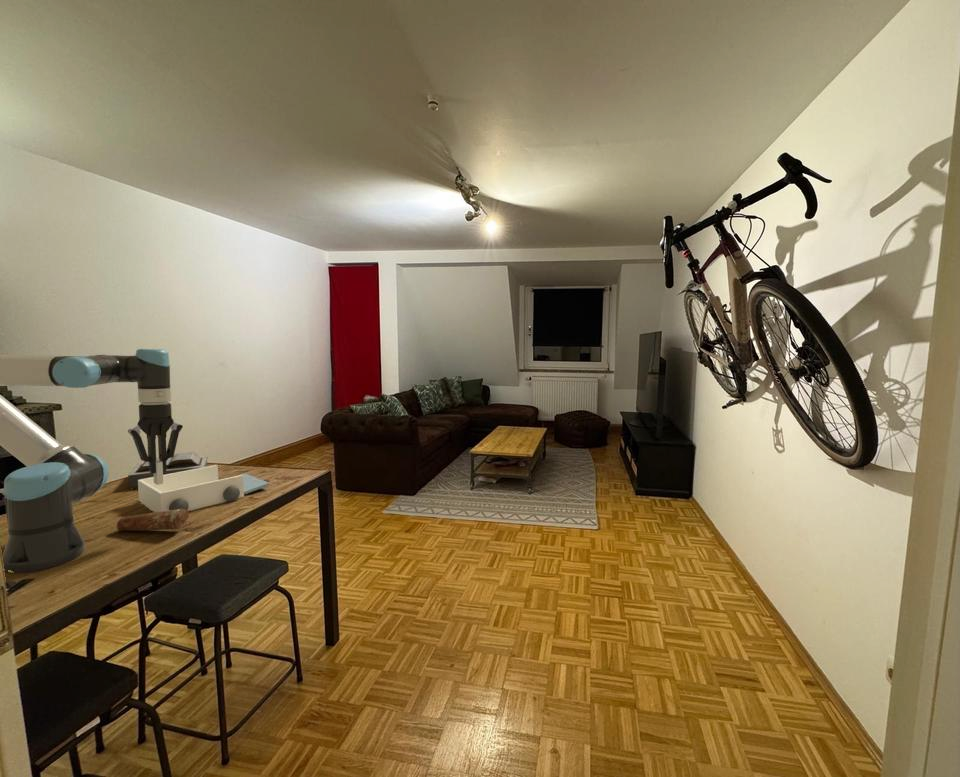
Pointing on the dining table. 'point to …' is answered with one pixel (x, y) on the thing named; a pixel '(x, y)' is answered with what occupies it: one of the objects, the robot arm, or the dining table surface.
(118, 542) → the dining table surface
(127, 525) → the bread
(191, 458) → the bible
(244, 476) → the tailgate
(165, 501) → the white toy wagon
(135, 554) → the dining table surface
